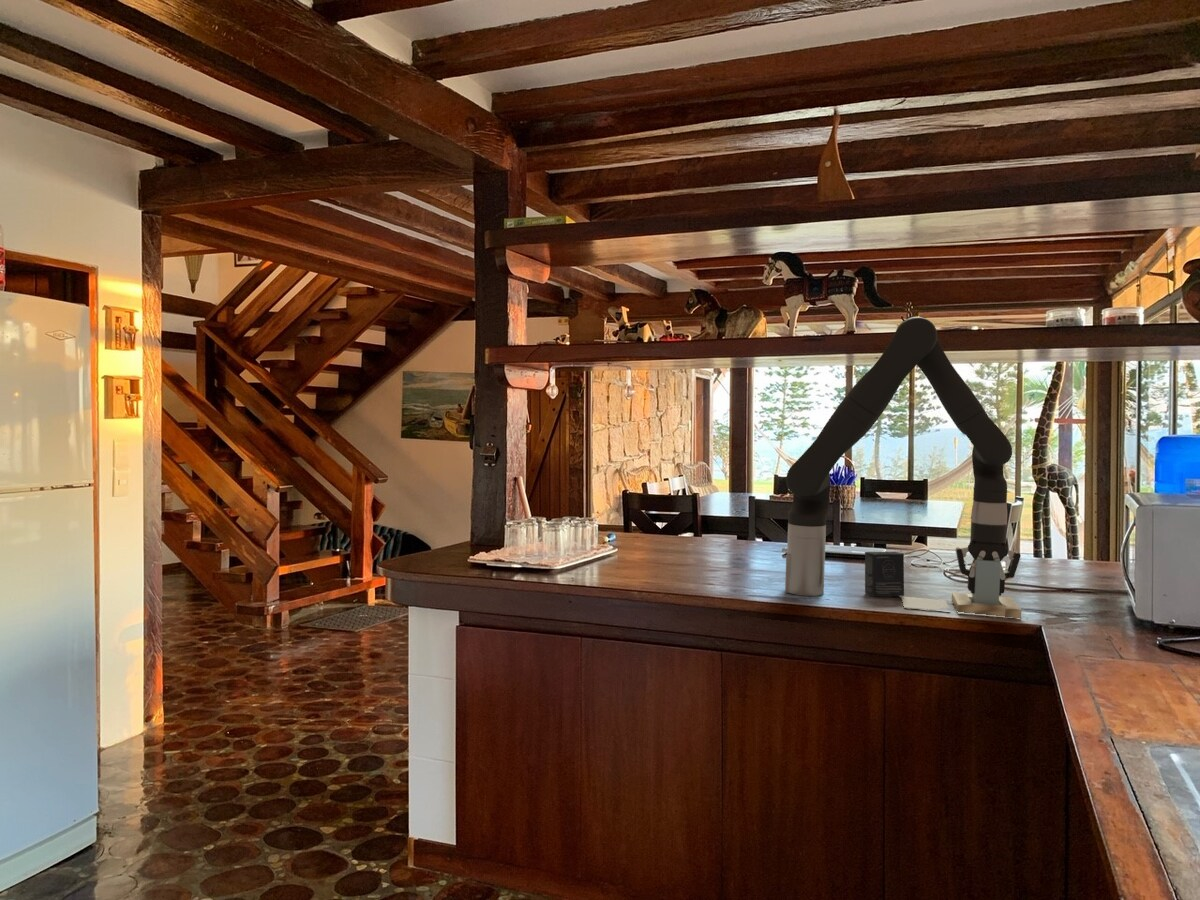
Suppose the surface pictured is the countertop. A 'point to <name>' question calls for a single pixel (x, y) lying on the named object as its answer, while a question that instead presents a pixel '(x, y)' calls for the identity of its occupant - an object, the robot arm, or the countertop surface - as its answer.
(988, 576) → the block
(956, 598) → the pocket board
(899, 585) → the box
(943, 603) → the mat
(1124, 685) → the countertop surface
